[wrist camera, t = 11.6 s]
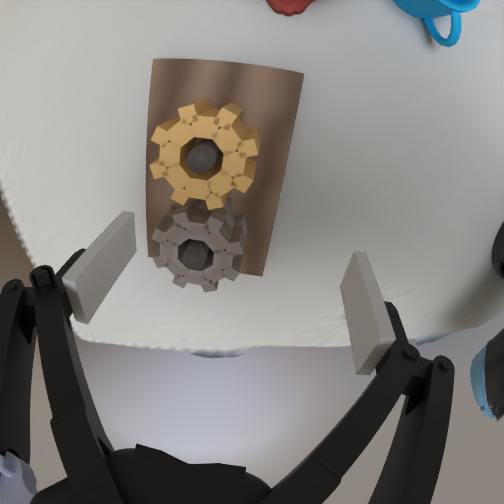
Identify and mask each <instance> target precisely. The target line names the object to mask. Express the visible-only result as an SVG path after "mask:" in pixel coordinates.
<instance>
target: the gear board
mask: <svg viewBox="0 0 504 504" xmlns="http://www.w3.org/2000/svg"><path fill="white" fill-rule="evenodd" d="M303 77H304V74H303V73H299V72H294V71H288V70H283V69H277V68H271V67H265V66H258V65H251V64H243V63H234V62H224V61H212V60H197V59H153V65H152V74H151V84H150V95H149V108H148V124H147V147H146V220H147V244H148V257H152V258H153V260H154V262H155V264H156V266H157V268H160V267H166V268H167V269H168V270H169V271H170V272H171V273H172V274H173V275H174V276H175V277H174V280H173V282H172V283H174V284H176V285H178V286H180V287H182V288H184V287H185V285H186V283H192V284H198V285H201V286H202V288H203V290H204V292H209V291H216V290H217V286H218V282H219V280H220V279H222V278H224V277H226V278H227V279H229V280H231V281H234V280H235V278H236V277H237V276H238V274H239V273H244V274H250V275H256V276H262V275H263V271H264V266H265V261H266V257H267V252H268V248H269V243H270V238H271V234H272V229H273V224H274V220H275V215H276V210H277V206H278V201H279V196H280V191H281V187H282V182H283V177H284V172H285V167H286V163H287V158H288V153H289V148H290V143H291V138H292V133H293V128H294V123H295V118H296V113H297V108H298V103H299V98H300V93H301V88H302V82H303ZM206 99H208V100H209V104H210V107H211V108H213V109H221V108H222V107H224V106H225V105H227V104H229V103H231V102H233V103H235V104H236V105H238V106H240V107H242V108H243V109H244V110H243V111H242V113H241V114H240V116H239V118H240V120H241V121H242V122H243V124H244V125H245V126H246V128H247V129H248V130H249V129H254V128H258V130H259V134H260V139H261V143H260V148H259V153H258V155H255V156H250V157H249V158H250V159H252V160H254V161H255V162H257V165H256V169H255V174H254V179H253V182H252V183H251V185H250V186H249V188H248V189H247V191H246V192H245V193H243V192H241V191H240V190H238V189H236V188H233V189H232V190H230V191H229V193H228V196H227V198H226V201H225V204H224V206H223V207H221V208H216V209H211V210H208V207H207V204H206V201H205V200H202V199H196V198H190V197H189V198H188V200H187V201H186V203H185V204H184V206H183V205H181V204H180V203H178V202H176V201H174V200H172V199H171V196H172V194H173V193H174V191H175V189H174V188H173V187H172V186H171V184H170V183H169V182H168V181H167V180H166V178H165V177H160V178H157V179H154V177H153V174H152V171H151V169H150V166H149V165H150V164H151V163H153V162H154V161H155V160H156V159H158V158H159V155H160V145H159V144H157V143H155V142H153V141H152V140H151V138H152V136H153V134H154V132H155V130H156V128H157V126H159V125H161V124H163V123H165V122H167V121H169V120H171V119H173V118H175V117H179V118H180V115H179V112H178V109H179V108H181V107H184V106H187V105H189V104H192V103H195V102H199V101H202V100H206ZM223 156H224V153H223V152H222V151H221V150H220V148H219V147H218V146H217V144H216V143H215V142H214V141H213V139H207V138H199V137H196V144H195V148H194V149H192V150H191V151H190V152H189V154H188V156H187V165H188V167H189V168H190V169H191V170H192V171H193V172H195V173H198V174H203V173H206V172H208V171H209V170H210V169H211V168H212V166H213V165H214V163H215V162H220V161H221V160H223Z"/></svg>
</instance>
